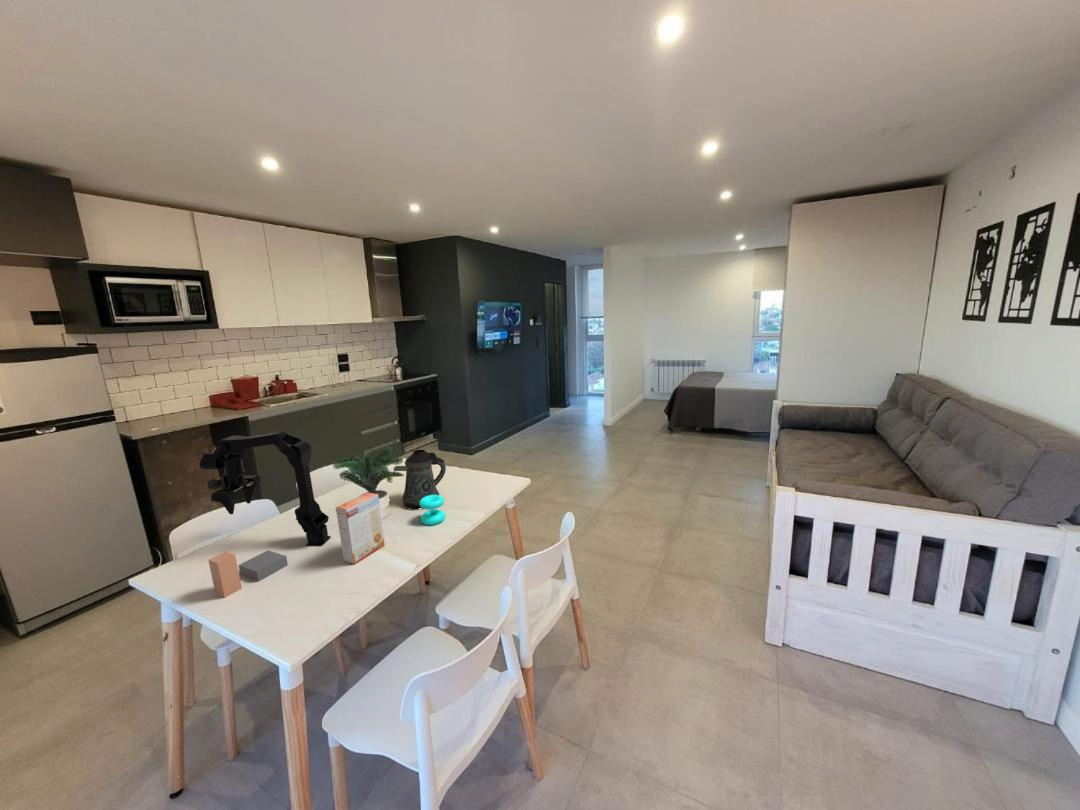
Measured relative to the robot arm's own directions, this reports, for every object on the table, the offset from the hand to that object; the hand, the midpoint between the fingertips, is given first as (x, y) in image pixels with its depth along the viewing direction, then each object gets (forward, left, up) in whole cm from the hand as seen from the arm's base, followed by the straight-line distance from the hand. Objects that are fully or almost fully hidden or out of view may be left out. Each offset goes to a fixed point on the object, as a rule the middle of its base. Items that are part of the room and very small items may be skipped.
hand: (240, 508), depth 158 cm
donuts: (-68, -18, -15) cm, 72 cm away
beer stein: (-58, -37, -15) cm, 71 cm away
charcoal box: (-20, +17, -15) cm, 30 cm away
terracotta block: (-16, +29, -15) cm, 36 cm away
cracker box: (-50, +7, -15) cm, 53 cm away
